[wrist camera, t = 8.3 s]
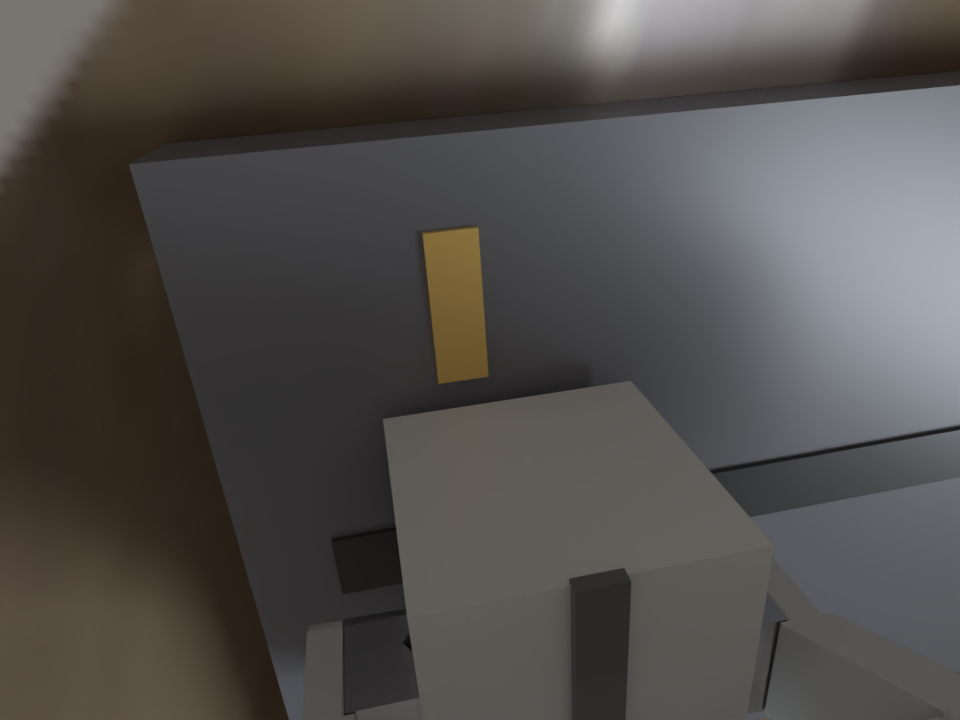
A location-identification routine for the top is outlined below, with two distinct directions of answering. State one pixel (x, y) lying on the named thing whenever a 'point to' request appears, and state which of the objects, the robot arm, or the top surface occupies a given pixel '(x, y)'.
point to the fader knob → (572, 563)
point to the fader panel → (587, 323)
